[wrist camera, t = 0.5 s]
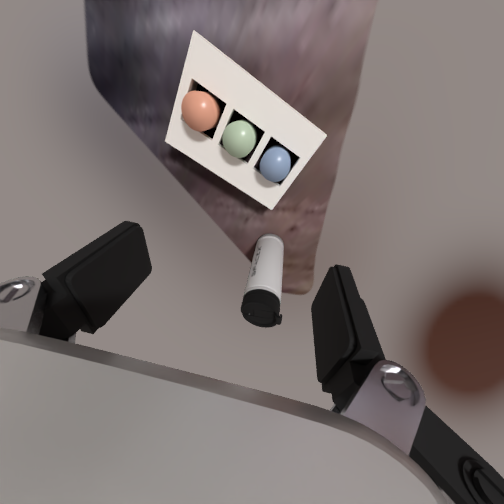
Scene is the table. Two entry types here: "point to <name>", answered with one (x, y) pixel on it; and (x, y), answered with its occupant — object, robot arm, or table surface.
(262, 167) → the slate button
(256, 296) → the travel mug
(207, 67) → the button box
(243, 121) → the sage button
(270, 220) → the table surface
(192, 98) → the terracotta button
